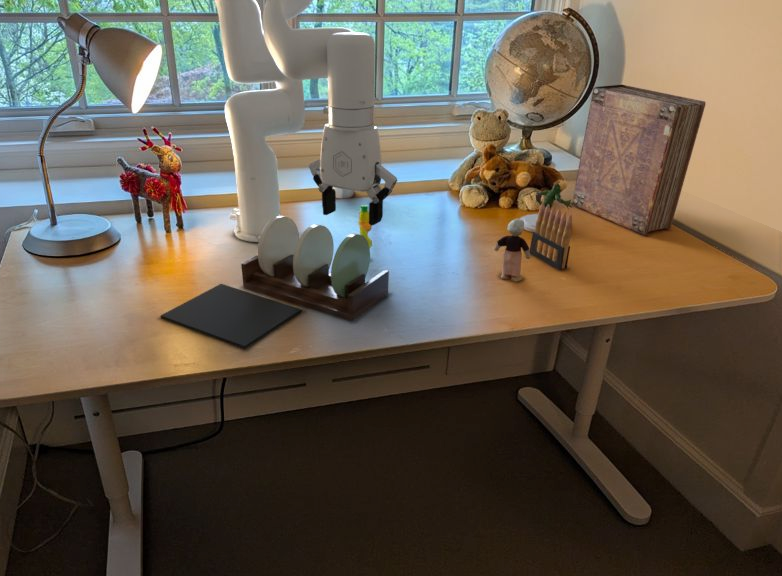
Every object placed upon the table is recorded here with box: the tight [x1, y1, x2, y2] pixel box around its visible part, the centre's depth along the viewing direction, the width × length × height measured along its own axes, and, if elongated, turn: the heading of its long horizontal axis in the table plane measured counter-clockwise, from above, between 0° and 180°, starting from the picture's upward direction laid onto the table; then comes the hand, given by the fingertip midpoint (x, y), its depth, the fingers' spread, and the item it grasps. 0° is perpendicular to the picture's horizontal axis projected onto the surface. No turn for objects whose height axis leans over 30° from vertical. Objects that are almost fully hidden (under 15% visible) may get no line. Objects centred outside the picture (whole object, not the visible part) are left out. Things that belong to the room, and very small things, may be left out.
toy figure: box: [358, 204, 373, 249], centre depth 137 cm, size 7×4×12 cm, turn 13°
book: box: [571, 84, 707, 237], centre depth 158 cm, size 25×9×30 cm, turn 28°
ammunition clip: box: [529, 201, 573, 271], centre depth 138 cm, size 11×2×12 cm, turn 26°
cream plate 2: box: [293, 224, 335, 287], centre depth 123 cm, size 1×12×12 cm, turn 149°
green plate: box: [330, 233, 371, 298], centre depth 119 cm, size 1×12×12 cm, turn 149°
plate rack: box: [240, 254, 390, 323], centre depth 126 cm, size 26×13×5 cm, turn 58°
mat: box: [160, 283, 303, 350], centre depth 118 cm, size 20×16×1 cm
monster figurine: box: [519, 182, 573, 233], centre depth 157 cm, size 12×12×10 cm
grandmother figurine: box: [493, 218, 532, 283], centre depth 130 cm, size 8×4×13 cm, turn 71°
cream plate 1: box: [257, 215, 300, 277], centre depth 127 cm, size 1×12×12 cm, turn 149°
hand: (351, 217), depth 114 cm, fingers open, 9 cm apart
